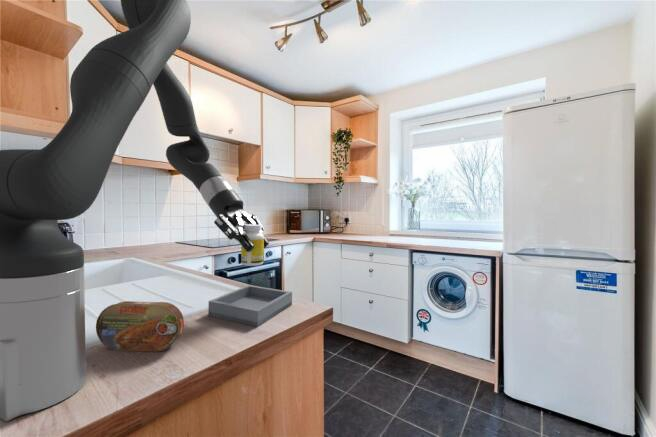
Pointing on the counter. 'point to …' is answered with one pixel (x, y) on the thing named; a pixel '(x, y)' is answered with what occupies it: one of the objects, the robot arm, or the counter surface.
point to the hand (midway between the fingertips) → (258, 247)
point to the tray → (250, 305)
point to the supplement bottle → (257, 252)
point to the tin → (139, 326)
